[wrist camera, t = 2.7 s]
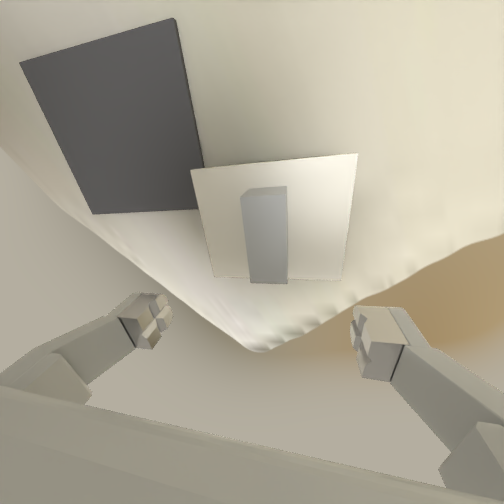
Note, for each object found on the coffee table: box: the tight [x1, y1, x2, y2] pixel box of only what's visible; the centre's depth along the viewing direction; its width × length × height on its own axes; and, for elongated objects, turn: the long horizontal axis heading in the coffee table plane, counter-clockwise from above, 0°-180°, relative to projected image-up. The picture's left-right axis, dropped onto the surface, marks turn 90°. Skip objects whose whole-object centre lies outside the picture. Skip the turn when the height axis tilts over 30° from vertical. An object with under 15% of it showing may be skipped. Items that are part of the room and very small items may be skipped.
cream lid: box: [190, 153, 358, 284], centre depth 16 cm, size 13×11×6 cm
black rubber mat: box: [19, 18, 204, 214], centre depth 24 cm, size 20×18×1 cm
